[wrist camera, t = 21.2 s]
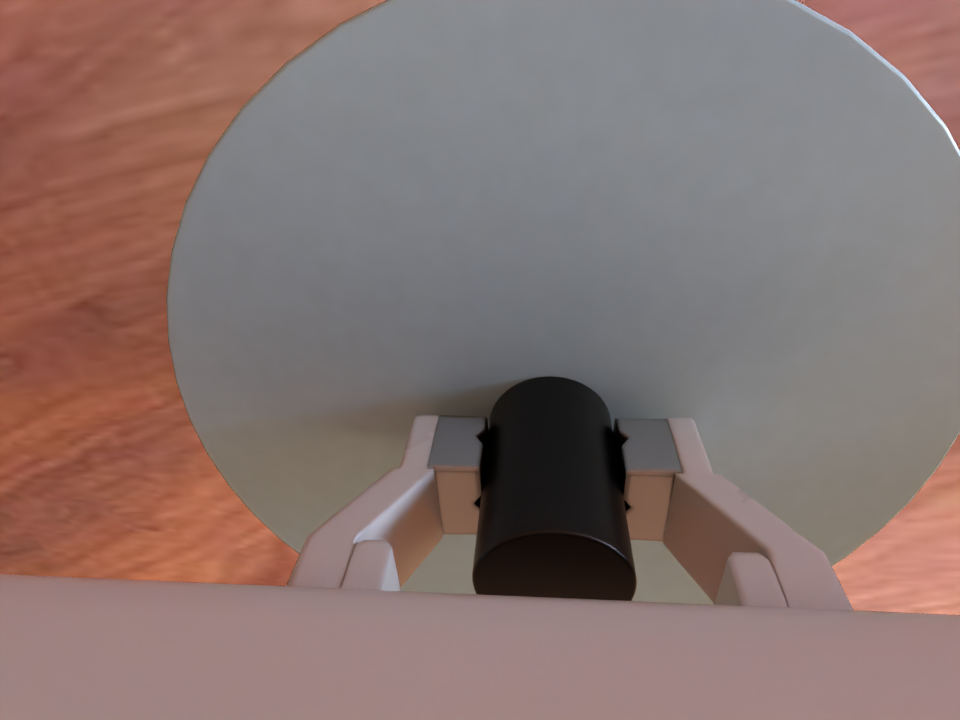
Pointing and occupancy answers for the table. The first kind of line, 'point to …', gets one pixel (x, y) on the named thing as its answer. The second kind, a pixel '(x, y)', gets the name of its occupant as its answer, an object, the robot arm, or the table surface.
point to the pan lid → (576, 275)
